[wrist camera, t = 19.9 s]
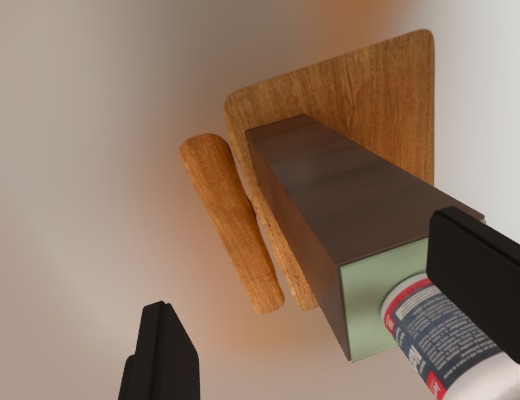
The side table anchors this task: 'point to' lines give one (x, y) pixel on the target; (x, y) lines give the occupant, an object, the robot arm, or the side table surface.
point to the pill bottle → (447, 345)
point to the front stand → (346, 222)
